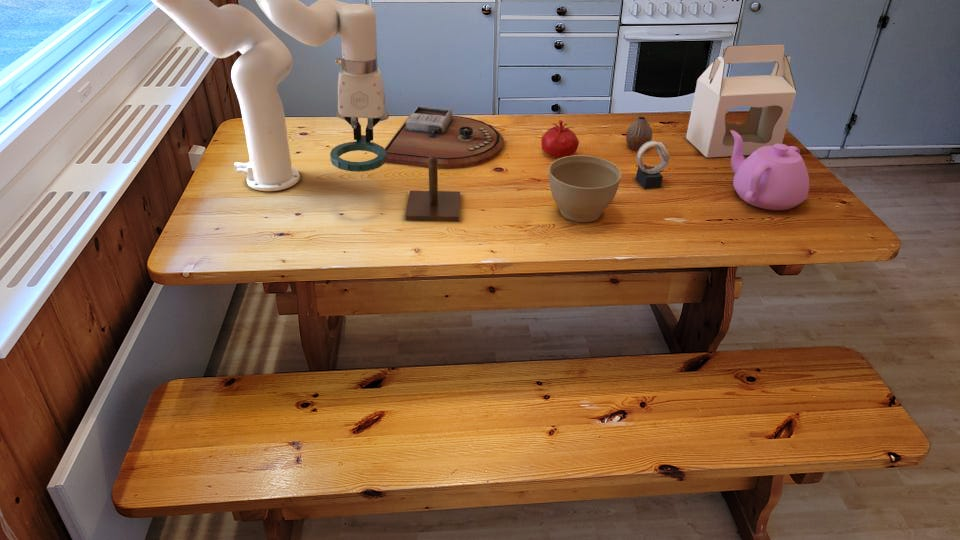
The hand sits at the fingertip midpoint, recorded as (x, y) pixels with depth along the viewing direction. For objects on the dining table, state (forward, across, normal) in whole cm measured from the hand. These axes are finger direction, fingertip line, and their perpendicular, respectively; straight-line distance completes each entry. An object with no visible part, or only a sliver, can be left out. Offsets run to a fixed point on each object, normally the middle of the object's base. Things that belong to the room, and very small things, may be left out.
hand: (363, 142), depth 165 cm
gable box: (+10, +98, +31) cm, 103 cm away
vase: (+11, +71, +28) cm, 77 cm away
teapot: (+10, +96, +2) cm, 96 cm away
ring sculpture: (+11, +70, +7) cm, 71 cm away
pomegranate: (+11, +49, +23) cm, 55 cm away
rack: (+12, +17, -8) cm, 22 cm away
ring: (0, 0, -7) cm, 7 cm away
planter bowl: (+11, +51, -9) cm, 53 cm away
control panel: (+12, +19, +28) cm, 36 cm away
